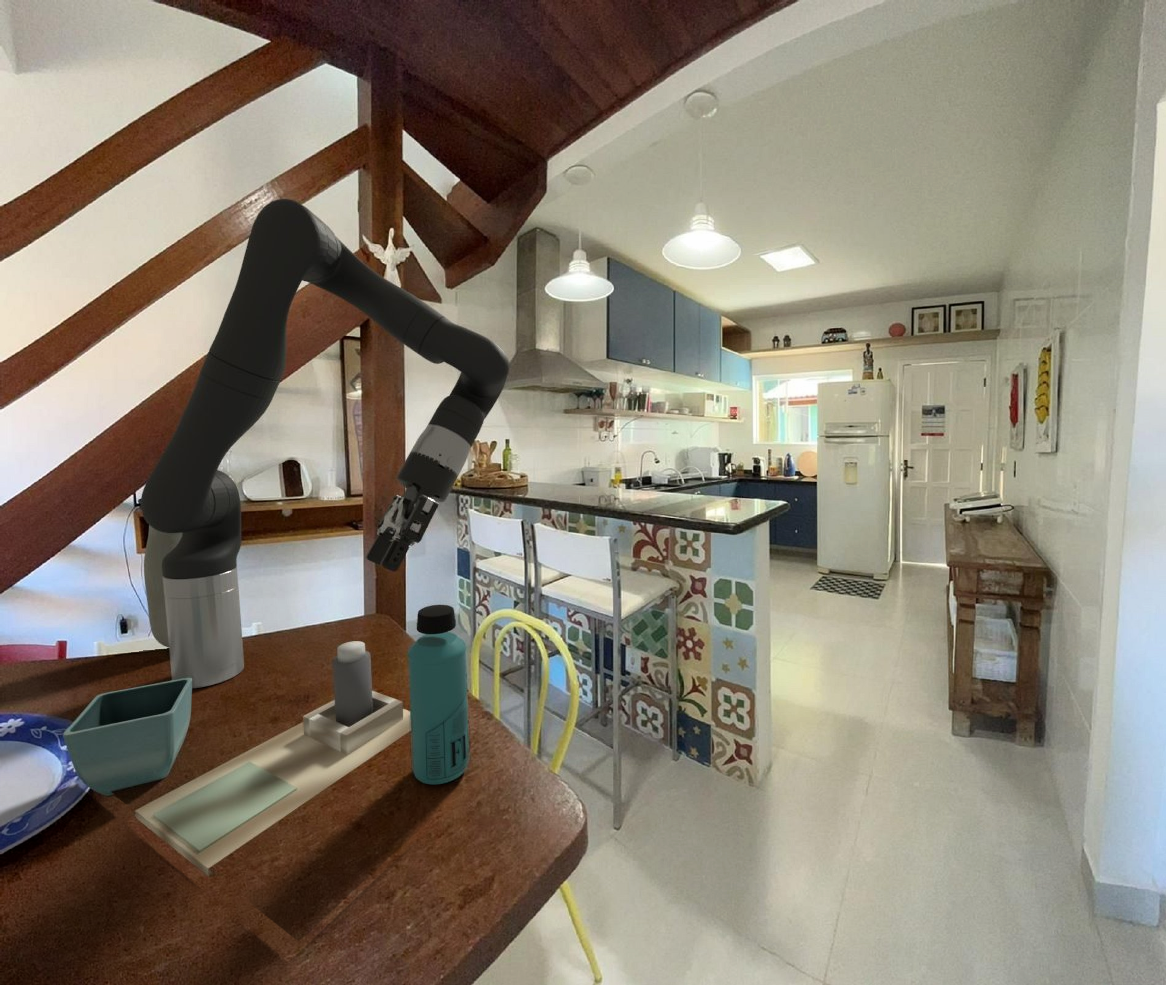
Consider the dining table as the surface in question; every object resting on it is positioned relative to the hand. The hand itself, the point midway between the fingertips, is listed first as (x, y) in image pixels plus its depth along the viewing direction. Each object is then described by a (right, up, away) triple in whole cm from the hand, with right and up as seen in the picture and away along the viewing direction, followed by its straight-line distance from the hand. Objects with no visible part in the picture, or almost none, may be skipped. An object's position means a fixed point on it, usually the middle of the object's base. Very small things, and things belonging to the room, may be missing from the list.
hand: (379, 565), depth 66 cm
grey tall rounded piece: (-45, -18, +23) cm, 54 cm away
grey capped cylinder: (-2, -21, -3) cm, 21 cm away
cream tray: (-5, -22, -9) cm, 24 cm away
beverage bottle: (+12, -23, -11) cm, 28 cm away
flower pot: (-22, -23, -11) cm, 34 cm away
